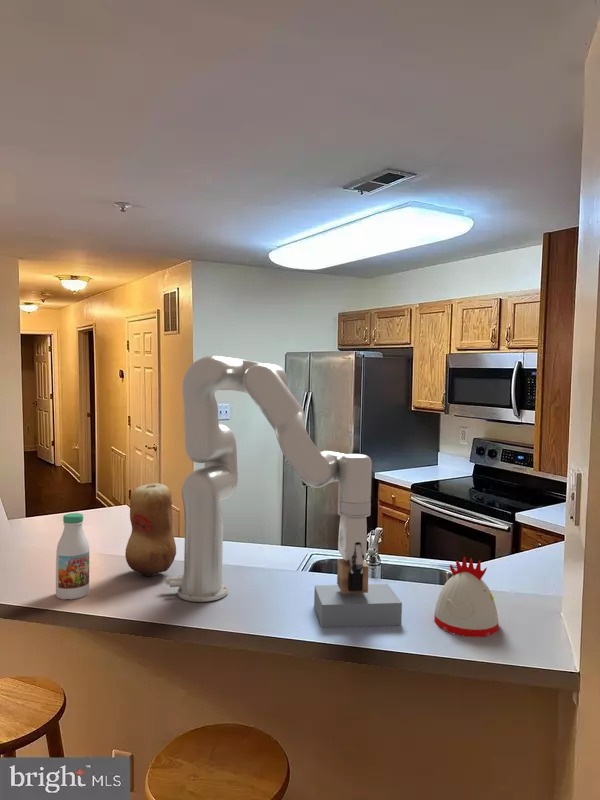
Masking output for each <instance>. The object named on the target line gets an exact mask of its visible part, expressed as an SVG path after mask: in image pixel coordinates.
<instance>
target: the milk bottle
mask: <svg viewBox="0 0 600 800" xmlns="http://www.w3.org/2000/svg"><path fill="white" fill-rule="evenodd" d="M62 521H63V524H62V525H63V531H62V534H61V536H60V538H59V539H58V543H57V545H56V555H55V596H56V598H57V599H59V598H60V599H61V600H65V599H70V600H76V599H81V598H83V596H84V597H86V596H87V595H88V594H89V592H90V544H89V540H88V538H87V536H86V534H85V532H84V528H83V523H84V514H83V513H80V512H73V513H72V512H70V513H66V514H64V515H63V517H62ZM85 595H86V596H85Z"/></svg>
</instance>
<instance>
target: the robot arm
mask: <svg viewBox="0 0 600 800" xmlns="http://www.w3.org/2000/svg"><path fill="white" fill-rule="evenodd" d="M287 375H288V374H287V373H286V372H285V370H284V369H283V368H282V367H281V366H279V365H277V364H274V363H264V362H260V361H259V362H258V361H253V360H247V359H242V358H236V357H235V358H234V357H229V356H228V357H227V356H222V355H208V356H203V357H200V358H199V359H197V360H195V361H194V362H193V363H191V365H190V366H189V367H188V368H187V370H186V371H185V374H184V376H183V379H182V390H181V391H182V400H183V410H184V411H183V412H184V413H183V415H184V416H183V419H184V420H183V421H184V422H183V423H184V446H185V447H184V448H185V452H186V455H187V457H188V459H189V460H190V461H192V462H194V463H197V464H204V466H203V467H202V468H198V469H196V470H193V471H192V472H190V473H189V474H188V475H187V476H186V477H185V479H184V481H183V483H182V484H181V485H182V486H181V498H182V504H183V506H182V507H183V512H184V513H183V514H184V549H183V551H184V552H183V553H184V555H183V556H184V560H183V561H184V563H183V567H184V569H183V573H182V575H179V576H166V578H165V585H168V586H169V587H170V588H176V587H178V588H177V596H178V597H179V598H180V599H182V600H185V601H188V602H194V603H196V602H197V603H198V602H199V603H204V602H212V601H217V600H220V599H222V598H224V597H225V596H227V595H228V593H229V587H228V585H227V584H226V583H224V582H223V554H224V553H223V551H224V550H223V547H224V545H223V544H224V541H223V540H224V532H223V531H224V522H223V513H222V510H221V503H220V502H222V501H225V500H227V499H228V498H230V497H231V496H233V494H234V493H235V492H236V489H237V486H238V479H239V477H238V474H239V473H238V453H237V451H238V450H237V441H236V437H235V434H234V433H233V431H232V430H231V429H230V428H229V427H228V426H227V425H225V424H223V423H220V422H219V421H220V420H219V404H218V403H217V399H216V396H215V393H216V392H217V391H234V392H235V391H236V392H240V393H246V394H248V395H249V396H250V398H251V399H252V401H253V402H254V404H255V405H256V406H257V407H258V409H259V410H260V412H261V413H262V414H263V416H264V417H265V418H266V420H267V421H268V423H269V425H270V426H271V428H272V429H273V430H274V434H275V437H276V440H277V442H278V445H279V448H280V450H281V452H282V454H283V457H284V459H286V462H287V463H288V464H289V466H290V467H291V468H292V470H293V472H295V475H297V477H298V478H299V479H300V480H301V481H302V482H303V483H304V484H305V485H307V486H308V487H311V488H314V489H315V488H316V489H318V488H322V487H325V486H327V485H328V484H330V483H334V482H338V490H337V492H338V493H337V514H338V515H339V516H340V517H339V524H338V525H339V528H338V541H337V550H338V552H339V554H340V555H341V557H342V559H344V560H345V561H348V560H349V562H350V573H349V575H348V590H349V591H362V589H363V561H365V560H366V559H367V546H368V545H367V543H368V537H367V536H368V535H367V533H368V532H367V530H368V529H367V528H368V525H367V517H370V516H371V511H372V510H371V509H372V508H371V506H372V503H371V500H372V468H373V467H372V466H373V463H372V459H371V457H370V456H368V455H366V454H362V453H361V454H360V453H342V452H336V451H332V450H322V451H320V450H319V449H318V447H317V445H315V443H314V442H313V440H312V439H311V437H310V435H309V434H308V431H307V429H306V425H305V411H304V409H303V407H302V405H301V403H299V401H298V400H297V398H296V397H295V396H294V395H293V393H292V392H291V391H290V389H289V387H288V383H289V380H288V379H289V378H288V376H287ZM352 558H356V559H352ZM353 562H356V564H354V566H353Z"/></svg>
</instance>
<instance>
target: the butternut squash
mask: <svg viewBox="0 0 600 800" xmlns="http://www.w3.org/2000/svg"><path fill="white" fill-rule="evenodd" d="M172 504H173V500H172V491H171V489H170V488H169V487H168V486H167V485H166V484H162V483H147V484H142V485H140V486H138V487H136V488H135V489H134V490H133V491H132V493H131V495H130V500H129V505H130V506H129V519H130V520H129V521H130V525H131V533H130V535H129V538H128V541H127V543H126V547H125V553H124V554H125V559H126V563H127V565H128V566H129V568H130V569H131V570H132V571H134V572H136V573H137V574H140V575H141V576H146V577H154V576H155V575H157V574H158V573H159V574H160V573H165V572H167V571H168V570H169V569H170V567H171V566H172V565H173V563H174V561H175V558H176V557H177V556H176V555H177V546H176V541H175V536H174V533H173V515H172V506H173V505H172Z"/></svg>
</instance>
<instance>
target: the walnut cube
mask: <svg viewBox="0 0 600 800" xmlns="http://www.w3.org/2000/svg"><path fill="white" fill-rule="evenodd" d="M352 559H356V558H352ZM354 564H356V562H353V566H354ZM369 569H370V568H369V565H368V564H367V562H366V561H365V560H364V561H363V589H362V591H349V590H348V575H349V573H350V562H349V560H348V561H345V560H344V559H343V558H337V573H336V574H337V577H336V582H337V583H336V585H338V587H339V588H340V590H341V592H342V593H368V584H369Z"/></svg>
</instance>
